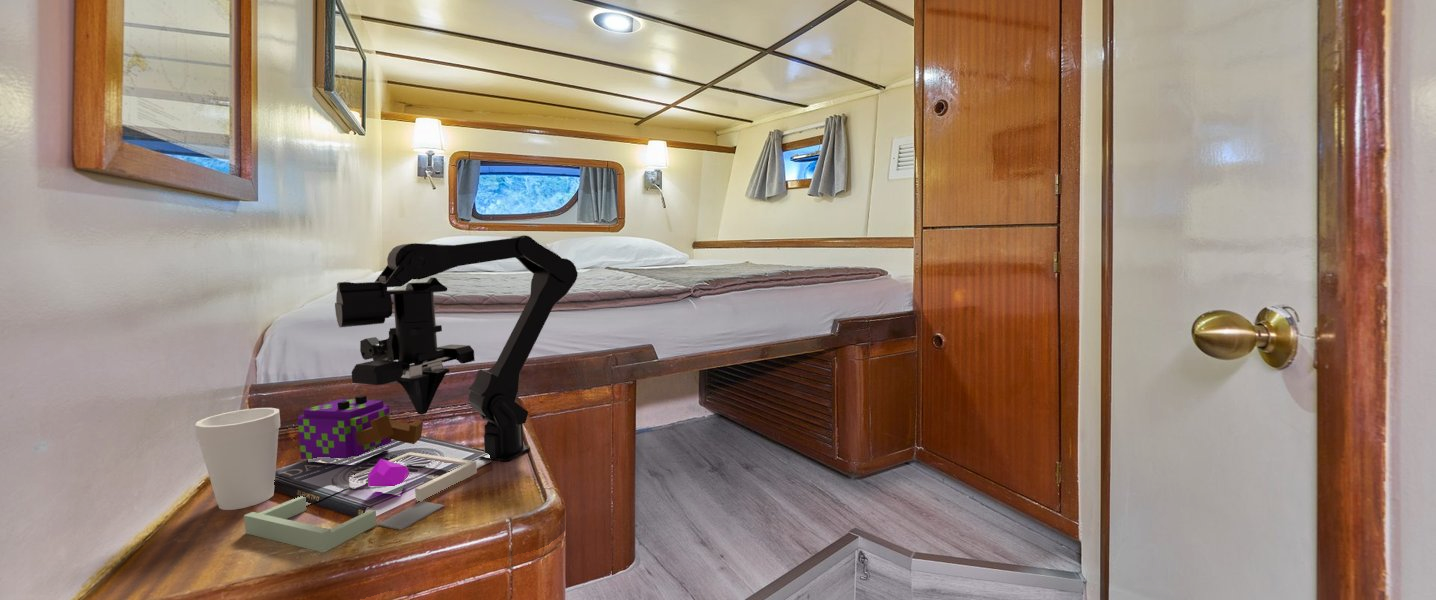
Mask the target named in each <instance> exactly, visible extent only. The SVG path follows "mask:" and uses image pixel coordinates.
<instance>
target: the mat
mask: <svg viewBox="0 0 1436 600" xmlns="http://www.w3.org/2000/svg"><path fill="white" fill-rule="evenodd" d="M444 507H445V505H444V504H440V503H435V502H429V501H425V500H424V501H421V502H417V503H415V504H414V505H411V506H409V507H407V508H405V509H403V510H402V511H399V512H398V513H395V514H394V515H392V516H390V517H389V518H386V519H384V520H382V521H381V522H378V523H377V526H379V527H384V528H388V529H395V530H399V531H403V530H404V529H406V528H408V527H409V526H412V525H413V524H415V523H417V522H419V521H420V520H422V519H424V518H426V517H428V516H430V515H431V514H433V513H435V512H436V511H439V510H440V509H442V508H444Z"/></svg>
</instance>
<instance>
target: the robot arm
mask: <svg viewBox="0 0 1436 600" xmlns="http://www.w3.org/2000/svg"><path fill="white" fill-rule="evenodd" d="M513 258H515V259H516V260H517V261H518V262H519V263H521V264H522V266H524V267H525V269H526V270H528V271H529V272H530V273H532V274H533V275H532V277H531V281H530V295H529V298H528V300H527V302H526V304H525V305H524V308H523V309H522V312H521V314H520V316H519V318H518V320H517V321H516V323H515V325H514V326H513V327H514V328H513V329H512V331H511V333H510V335H509V337H508V339H507V340H506V342H505V345H504V346H503V349H502V350H501V352H500V355H499V356H498V357H497V360H496V362H495V363H494V365H493V366H491V368H489V369H488V370H484V369H479V370H478V372H477V373H476V376H475V379H474V381H473V382H472V384H471V385H470V386H469V387H468V388H467V390H469V391H470V393H469V396H468V401H469V405H470V407H471V408H472V409H473V410H474V411H475V412H476V413H477V412H478V413H479V414H480V416H481V418H482V420H485V421H487V422H486V423H485V424H484V434H483V442H484V446H483V447H484V452H485V453H488V454H489V455H490V458H491V459H490V460H494V461H502V462H509V461H510V460H513V459H514V458H516V457H518V456H521V455H522V454H524V453H525V452H527V451H530V450H531V446H530V445H524V429H523V427H524V426H523V425H524V424H526V422H527V419H528V417H529V416H528V415H529V411H528V410H527V409H525V408H524V407H523V406H521V405H520V404H519V403H517V402H516V401H517V397H518V394H519V388H520V376H521V375H520V374H521V372H522V370H523V368H524V366H525V364H526V362H527V360H528V358H529V356H530V355H531V351H532V350H533V349H534V346H535V344H536V342H537V340H538V337H540V335H541V331H543V328H544V327H545V326H544V325H545V324H546V322H547V320H548V317H549V316H550V314H551V312H552V310H553V308H554V306H555V305H556V304H557V303H558V302H560V300H562V299H563V298H564V297H565V296H566V295H567V294H568V293H569V291H570V290H571V289H572V287H573V286H574V285H575V284H576V281H577V279H578V273H579V272H578V271H577V267H576V265H575V263H574V262H573V261H571V260H570V259H568V258H563V257H561V256H559V254H557V253H555V252H554V251H552V250H550V249H549V248H546V246H543V245H542V244H540V243H539V242H537V241H536V240H534V239H533V238H532V237H531V236H529V235H525V234H524V235H515V236H512V237H509V238H500V239H491V240H486V241H476V242H475V241H474V242H467V243H461V244H460V243H458V244H437V243H418V242H417V243H415V242H414V243H403V244H400V245H397V246H395V247H393V248H392V249H391V250H390V252H389V253H388V255H387V259H386V260H387V262H386V263H387V265H386V266H385V267H384V269H383V270H382V271H381V272H380V274H379V275H378V277H377V278H376V280H375V281H372V282H371V281H368V282H367V281H366V282H364V281H363V282H351V281H350V282H349V281H339V282H337V283H336V288H337V291H336V297H335V298H336V299H335V300H336V301H335V302H334V309H335V310H334V311H335V316H336V317H335V318H336V322H337V324H338V327H339V328H348V327H349V328H350V327H351V328H352V327H360V326H370V325H371V326H372V325H382V324H385V322H386V319H389V318H391V317H392V315H393V311H394V324H395V325H394V326H395V327H391V328H389V331H388V338H386V339H381V340H380V339H379V338H377V337H375V336H374V337H373V336H372V337H367V338H364V339H362V340H360V341H359V342H360V343H359V344H360V345H359V347H360V348H359V352H360V355H361V357H362V359H363V360H365V362H360V363H357V364H355V365H354V367H353V369H352V371H351V380H352V383H353V384H362V385H371V386H381V385H386V384H390V383H393V382H397V383H399V385H401V387H402V388H403V389H404V391H405V392H406V394H407V396H408V398H409V400H410V402H411V404H412V405H413V407H414V409H415V411H416V413H417V414H418V415H425V414H427V413H428V410H429V409H430V406H431V404H432V402H433V399H434V397H435V395H436V393H437V390H438V389H439V387H440V385H441V383H442V381H443V380H444V378H445V376H446V374H448V373H449V372H450V369H449V368H444V364H443V363H446V362H451V361H454V360H455V361H457V362H459V363H460V364H467V363H472V362H474V361H475V350H474V349H473V348H472V346H471V345H468V344H447V345H442V346H438V339H437V338H438V337H437V336H438V335H437V333H439V332H442V331H443V330H442V329H443V328H442V324H441V325H440V324H437V323H436V322H437V321H436V310H435V309H436V308H435V296H434V293H437V292H438V293H439V292H440V293H442V292H447V291H448V287H447V286H445V285H444V284H442V283H441V282H440V281H439V280H438V278H437V277H432V276H436V275H438V274H441V273H443V272H446V271H448V270H452V269H455V268H456V267H457V268H458V267H460V266H461V267H462V266H467V265H473V264H474V265H475V264H481V263H487V262H494V261H500V260H501V261H502V260H507V259H513ZM427 278H429V279H428V280H427V281H426V282H424V281H423V282H410V281H412V280H423V279H427ZM405 285H406V287H405V289H393V290H388V288H396V287H398V288H401V287H404V286H405ZM392 297H393V298H392ZM392 299H393V302H392ZM371 359H372V360H371ZM366 360H370V361H366Z"/></svg>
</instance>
